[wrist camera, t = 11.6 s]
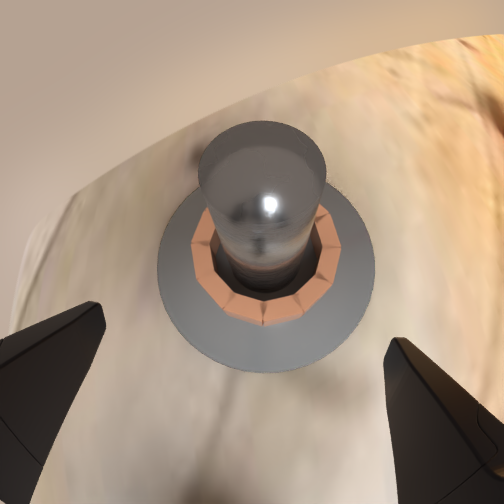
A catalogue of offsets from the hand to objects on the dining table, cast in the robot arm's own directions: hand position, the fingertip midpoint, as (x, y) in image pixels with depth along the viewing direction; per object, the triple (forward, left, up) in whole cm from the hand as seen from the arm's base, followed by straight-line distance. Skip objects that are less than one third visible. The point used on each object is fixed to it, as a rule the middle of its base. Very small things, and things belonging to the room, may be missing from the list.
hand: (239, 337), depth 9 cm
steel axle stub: (+5, +4, -12) cm, 14 cm away
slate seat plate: (+5, +4, -13) cm, 14 cm away
